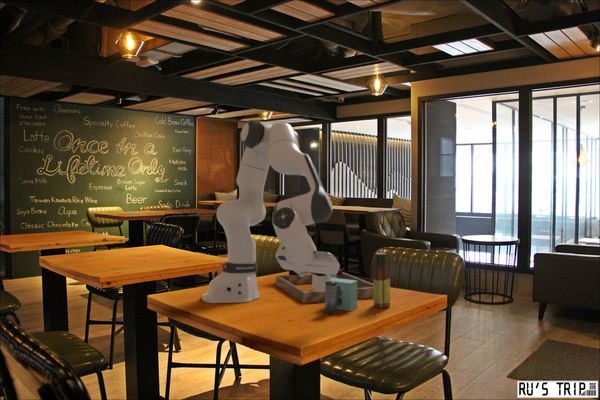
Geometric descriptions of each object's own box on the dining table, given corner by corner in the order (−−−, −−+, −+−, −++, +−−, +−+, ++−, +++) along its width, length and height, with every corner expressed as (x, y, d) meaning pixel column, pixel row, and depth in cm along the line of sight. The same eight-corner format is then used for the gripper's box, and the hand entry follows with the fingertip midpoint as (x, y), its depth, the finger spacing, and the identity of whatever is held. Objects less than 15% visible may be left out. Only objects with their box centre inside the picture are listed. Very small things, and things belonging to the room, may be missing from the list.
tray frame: (304, 303, 183) (304, 292, 183) (275, 285, 216) (276, 276, 216) (381, 297, 194) (381, 287, 194) (343, 280, 228) (343, 272, 228)
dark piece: (333, 315, 166) (333, 283, 166) (322, 313, 168) (323, 282, 168) (351, 305, 180) (351, 276, 179) (341, 304, 182) (341, 275, 181)
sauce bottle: (388, 304, 183) (389, 252, 182) (391, 308, 176) (392, 254, 176) (371, 304, 182) (371, 252, 182) (374, 308, 176) (374, 254, 176)
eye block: (350, 311, 172) (350, 283, 171) (325, 307, 177) (325, 280, 176) (357, 307, 177) (357, 280, 177) (332, 304, 182) (332, 277, 181)
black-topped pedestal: (367, 297, 195) (368, 264, 195) (307, 302, 186) (308, 267, 185) (337, 284, 221) (338, 255, 221) (283, 288, 212) (284, 257, 211)
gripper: (335, 245, 146) (347, 272, 155) (278, 240, 157) (293, 266, 165) (328, 261, 143) (341, 288, 151) (270, 255, 153) (286, 281, 162)
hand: (315, 276), depth 158 cm, fingers open, 8 cm apart
